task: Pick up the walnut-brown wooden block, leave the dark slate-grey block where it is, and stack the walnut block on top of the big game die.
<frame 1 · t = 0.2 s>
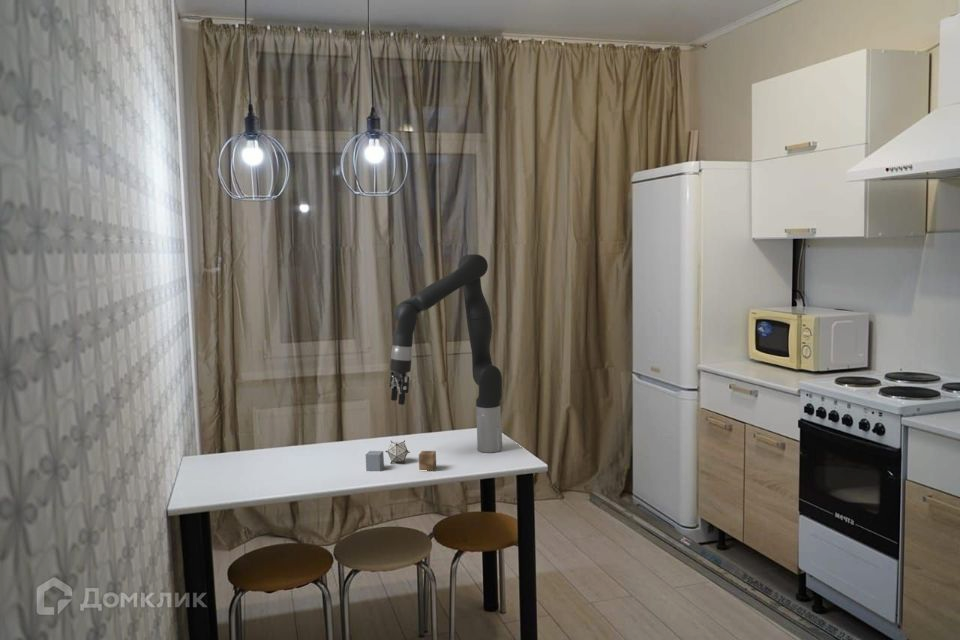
hand: (397, 402, 275), 22 cm above the table, tool pointing down, fingers open, 8 cm apart
walnut block: (427, 469, 267), on the table
slate block: (375, 469, 269), on the table
game die: (398, 462, 277), on the table
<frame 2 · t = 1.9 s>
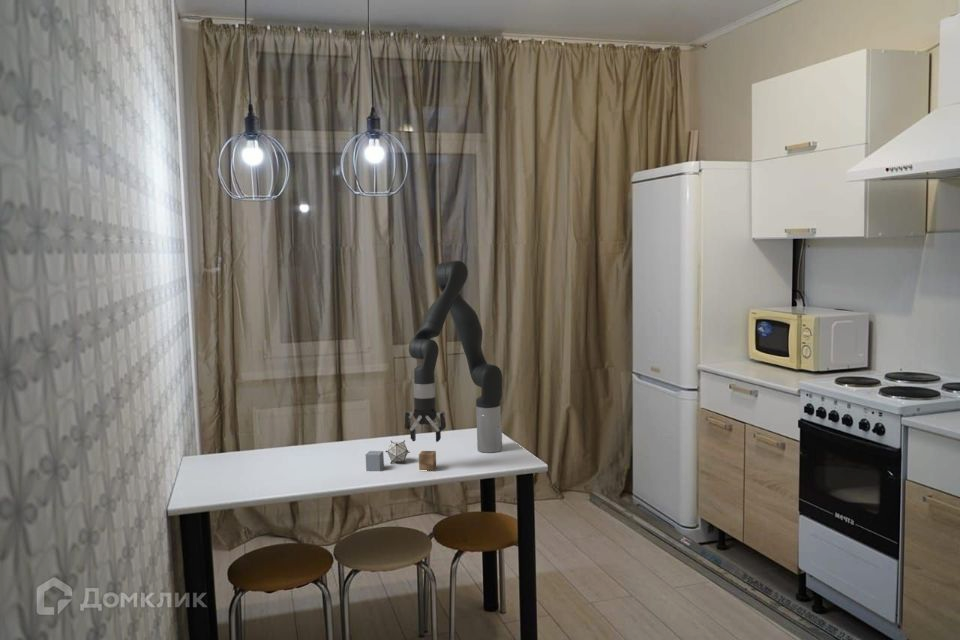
hand: (425, 441, 266), 10 cm above the table, tool pointing down, fingers open, 8 cm apart
nothing on the table moved.
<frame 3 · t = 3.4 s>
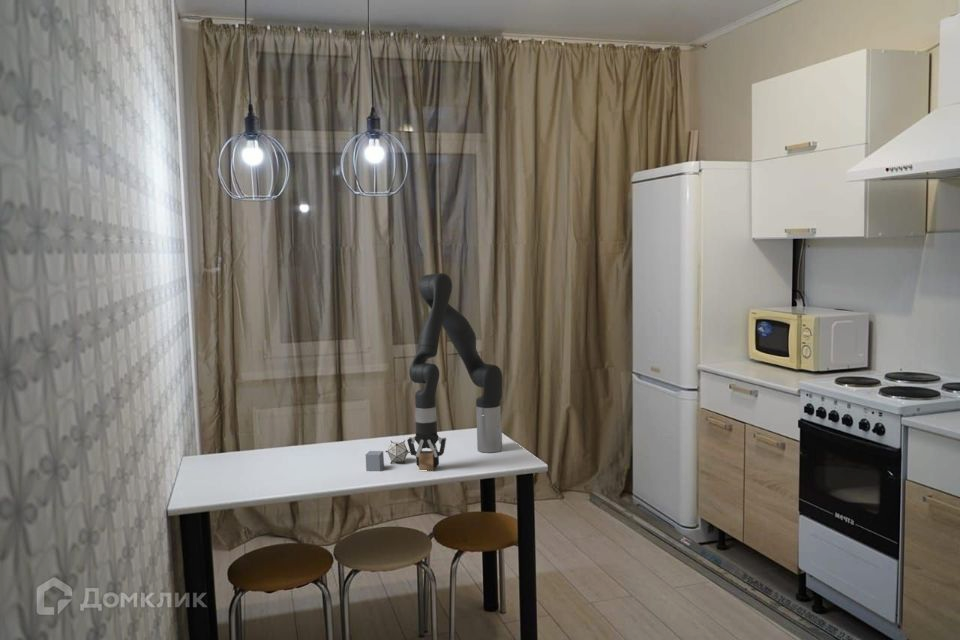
hand: (427, 466, 267), 1 cm above the table, tool pointing down, fingers closed on walnut block, 5 cm apart
walnut block: (427, 469, 267), on the table, touching gripper
everything else where it was.
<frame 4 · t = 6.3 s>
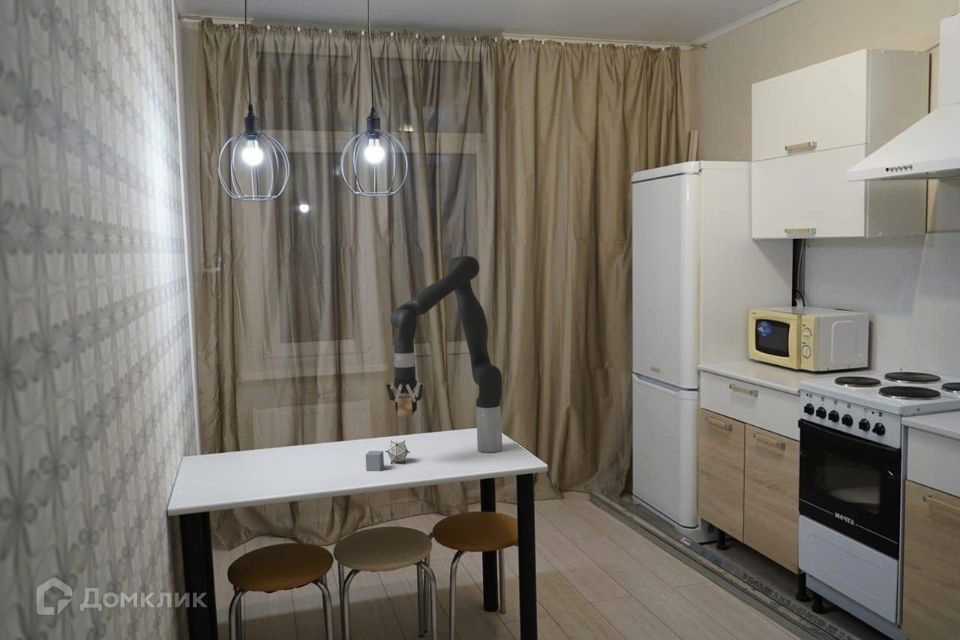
hand: (406, 411, 271), 20 cm above the table, tool pointing down, fingers closed on walnut block, 5 cm apart
walnut block: (406, 414, 271), point 19 cm above the table, touching gripper
everything else where it was.
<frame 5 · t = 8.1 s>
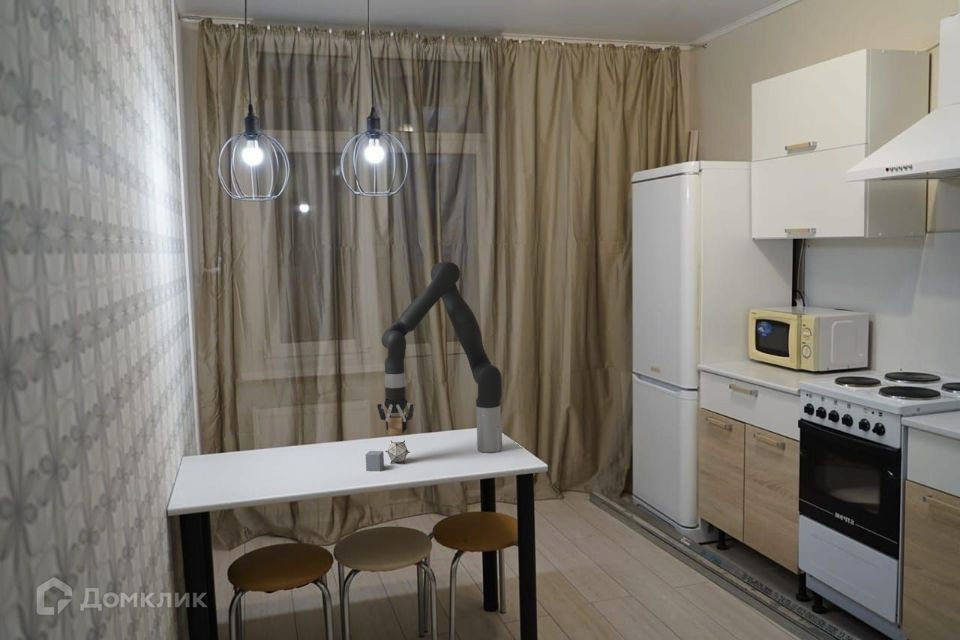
hand: (396, 431, 276), 12 cm above the table, tool pointing down, fingers closed on walnut block, 5 cm apart
walnut block: (397, 433, 276), point 11 cm above the table, touching gripper
everything else where it was.
when the fingers open (10 cm above the table, at t = 9.2 s): walnut block drops 1 cm, resting on game die.
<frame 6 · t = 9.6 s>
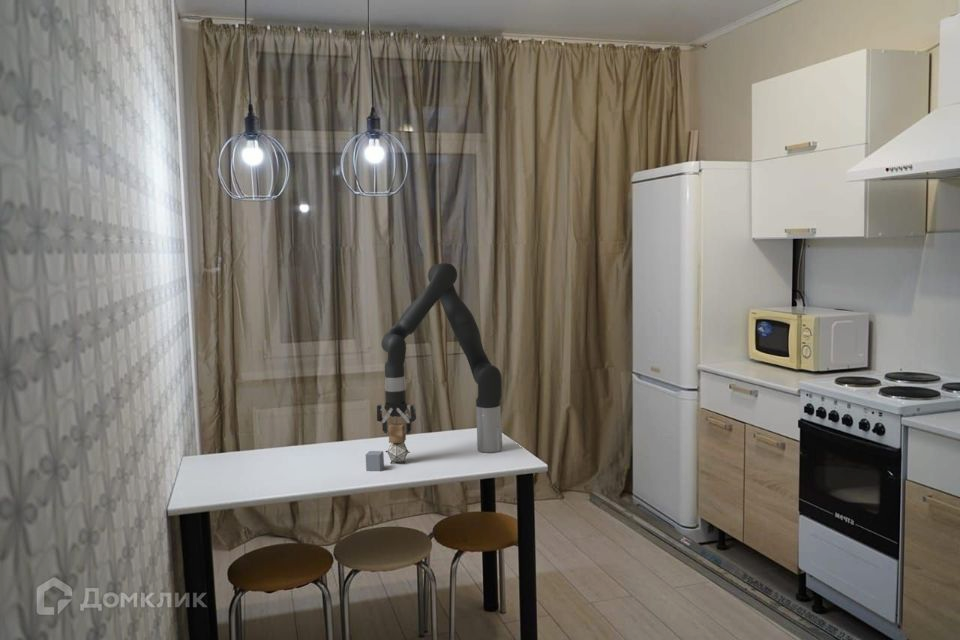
hand: (397, 432, 276), 11 cm above the table, tool pointing down, fingers open, 8 cm apart
walnut block: (397, 441, 276), point 8 cm above the table, touching game die
game die: (398, 462, 277), on the table, touching walnut block
everything else where it was.
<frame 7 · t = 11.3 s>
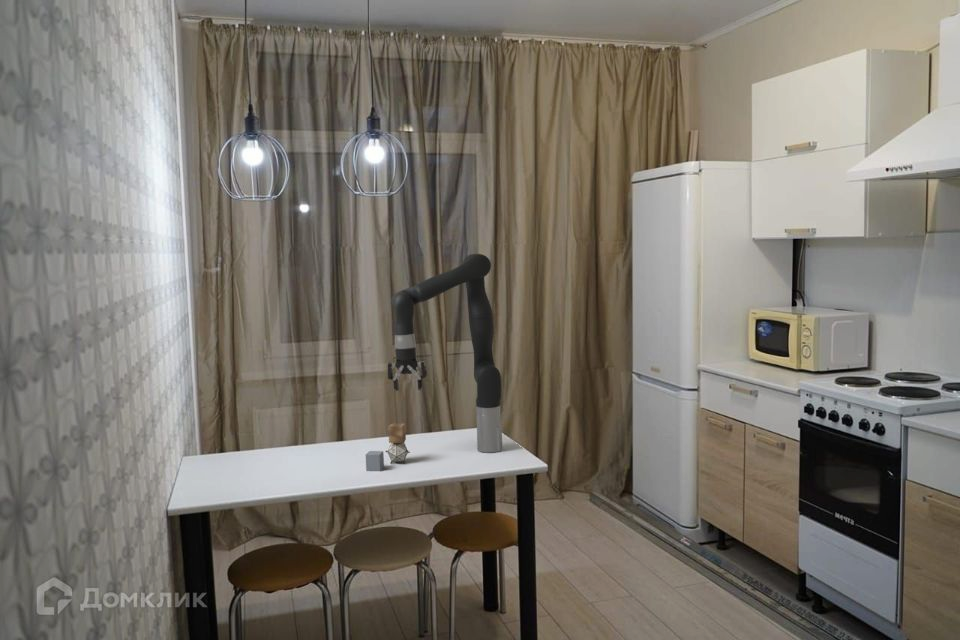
hand: (408, 389, 279), 26 cm above the table, tool pointing down, fingers open, 8 cm apart
nothing on the table moved.
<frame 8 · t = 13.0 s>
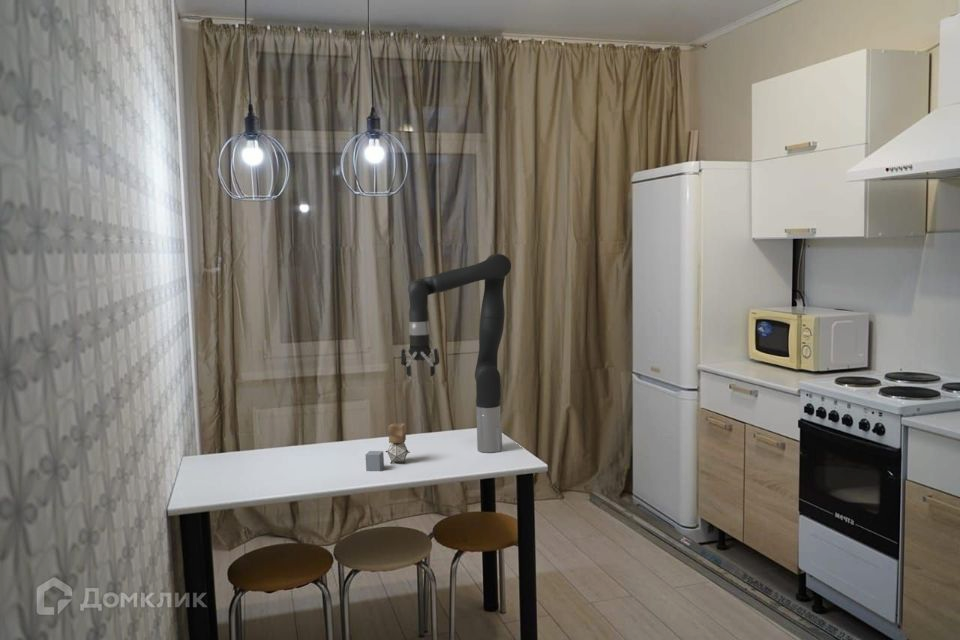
hand: (420, 376, 284), 30 cm above the table, tool pointing down, fingers open, 8 cm apart
nothing on the table moved.
at the end: walnut block 0.1 cm from the game die (horizontally); walnut block point 7.9 cm above the table; walnut block tilted 0° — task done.
